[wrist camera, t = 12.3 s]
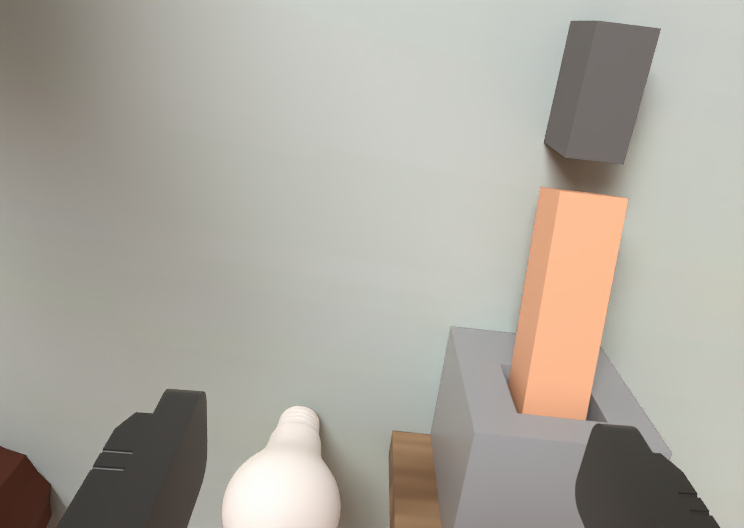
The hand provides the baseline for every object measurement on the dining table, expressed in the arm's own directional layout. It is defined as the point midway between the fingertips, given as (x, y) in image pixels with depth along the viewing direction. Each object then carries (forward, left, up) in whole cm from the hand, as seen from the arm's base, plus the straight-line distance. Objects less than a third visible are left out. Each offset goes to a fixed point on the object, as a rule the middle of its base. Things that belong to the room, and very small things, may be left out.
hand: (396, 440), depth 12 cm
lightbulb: (+16, -4, -22) cm, 27 cm away
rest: (-6, +9, -22) cm, 24 cm away
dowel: (+7, +9, -18) cm, 22 cm away
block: (+12, +9, -22) cm, 27 cm away
